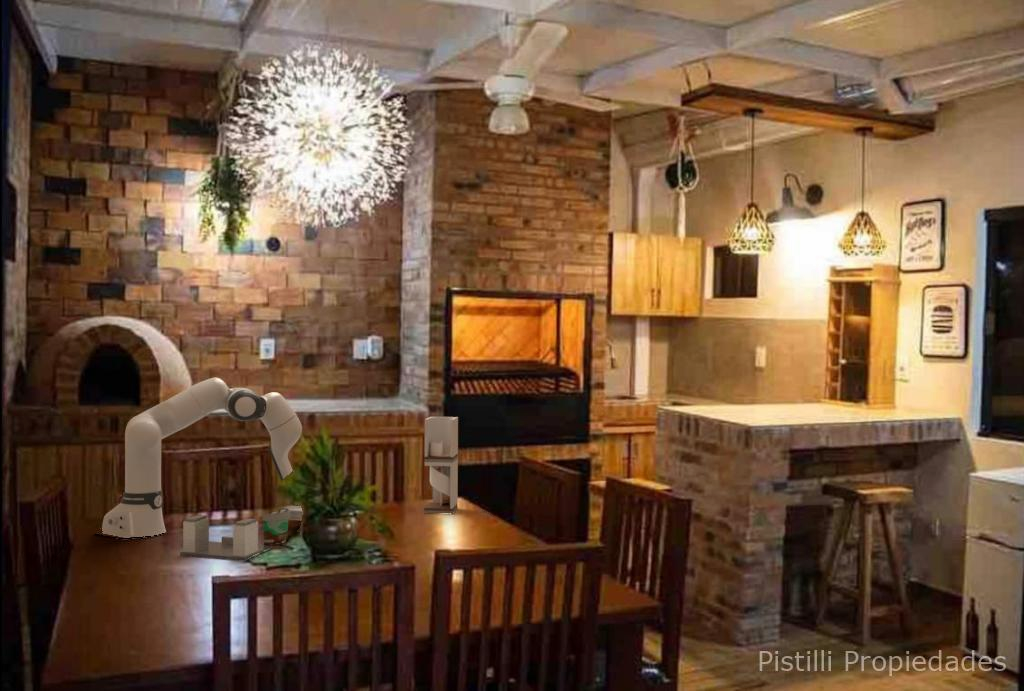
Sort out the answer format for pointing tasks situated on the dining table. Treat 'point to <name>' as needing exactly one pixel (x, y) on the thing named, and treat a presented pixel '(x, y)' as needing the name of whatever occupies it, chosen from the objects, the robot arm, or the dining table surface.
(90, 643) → the dining table surface
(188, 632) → the dining table surface
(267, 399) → the robot arm
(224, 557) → the rail
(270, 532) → the food container
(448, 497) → the white tiered stand
